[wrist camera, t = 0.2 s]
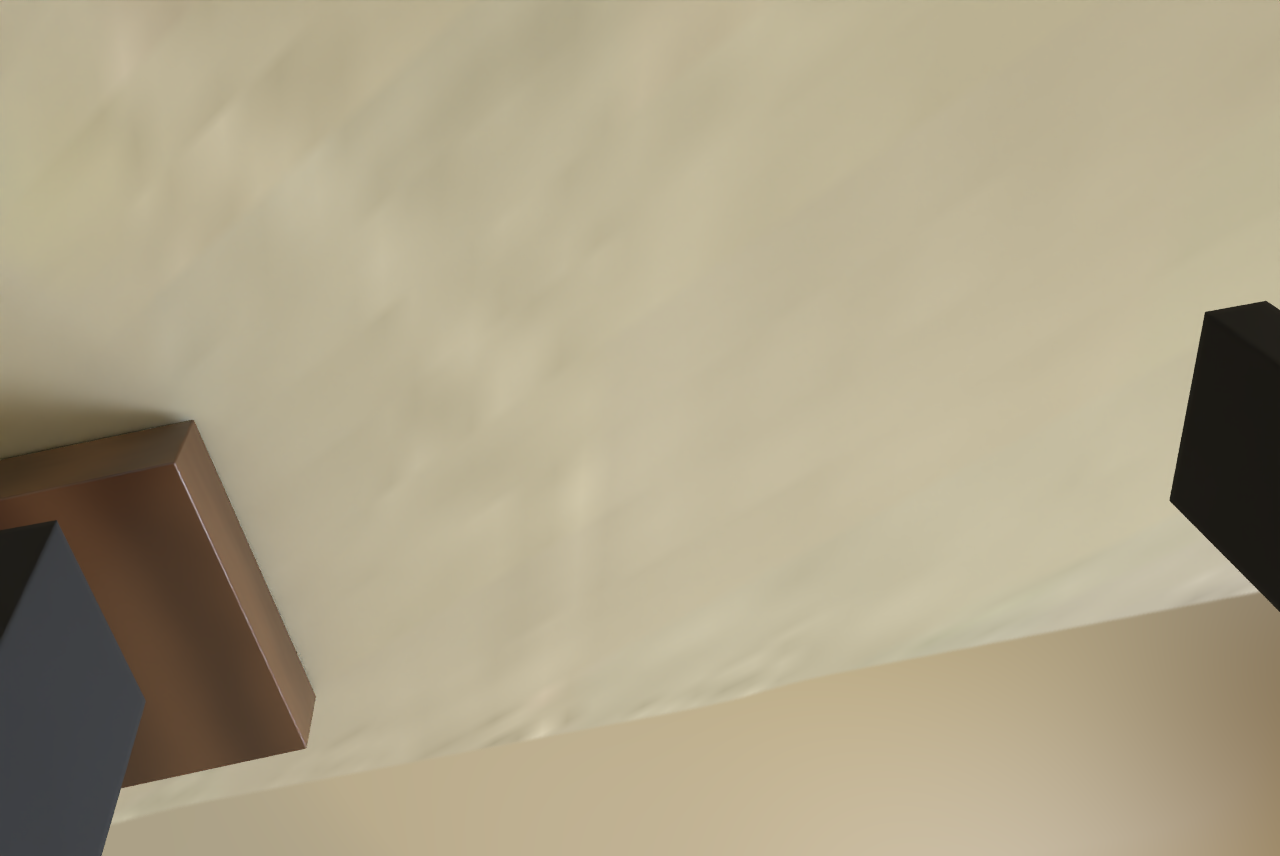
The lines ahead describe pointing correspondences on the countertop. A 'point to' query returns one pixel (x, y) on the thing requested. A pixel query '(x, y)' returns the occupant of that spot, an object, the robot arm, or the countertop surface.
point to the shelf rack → (172, 595)
